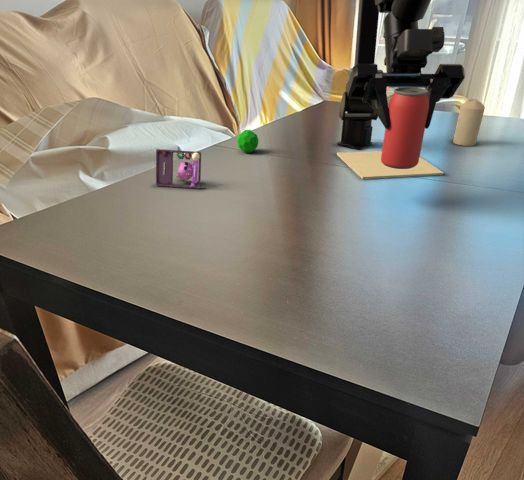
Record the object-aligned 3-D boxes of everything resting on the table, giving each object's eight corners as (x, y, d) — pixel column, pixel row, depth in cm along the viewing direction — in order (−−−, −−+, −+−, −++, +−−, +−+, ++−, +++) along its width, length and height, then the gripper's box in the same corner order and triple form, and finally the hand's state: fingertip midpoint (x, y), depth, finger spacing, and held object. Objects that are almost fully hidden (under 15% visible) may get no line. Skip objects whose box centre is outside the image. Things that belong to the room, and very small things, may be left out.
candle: (477, 146, 125) (488, 102, 119) (454, 145, 126) (463, 101, 120) (474, 141, 129) (484, 98, 123) (451, 139, 130) (461, 97, 124)
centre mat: (336, 154, 118) (336, 152, 118) (408, 151, 121) (409, 149, 121) (362, 179, 104) (362, 176, 104) (443, 175, 107) (444, 172, 107)
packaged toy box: (154, 148, 97) (199, 151, 96) (164, 151, 102) (207, 153, 101) (154, 185, 99) (198, 188, 98) (164, 186, 104) (206, 189, 103)
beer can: (419, 161, 92) (433, 88, 85) (415, 172, 87) (430, 95, 80) (383, 157, 94) (393, 85, 86) (377, 167, 89) (388, 92, 82)
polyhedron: (235, 149, 121) (234, 128, 118) (254, 148, 122) (254, 127, 120) (240, 155, 117) (240, 133, 115) (260, 153, 119) (261, 132, 116)
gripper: (358, 5, 79) (363, 97, 77) (475, 6, 80) (484, 97, 78) (345, 55, 90) (349, 137, 88) (447, 56, 91) (454, 137, 89)
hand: (407, 127), depth 85 cm, fingers closed on beer can, 6 cm apart
